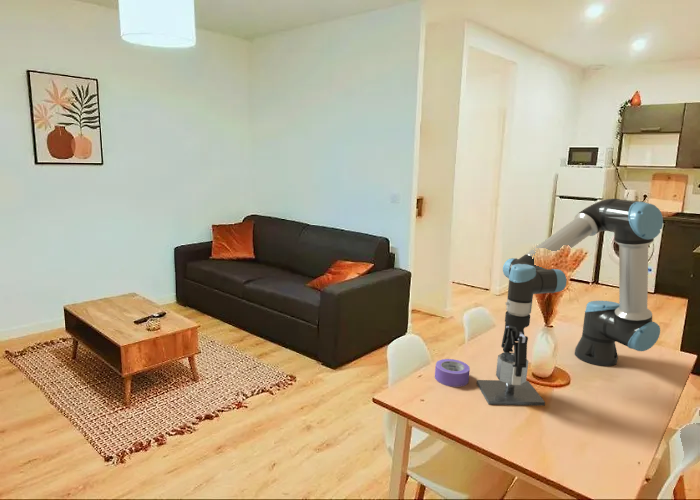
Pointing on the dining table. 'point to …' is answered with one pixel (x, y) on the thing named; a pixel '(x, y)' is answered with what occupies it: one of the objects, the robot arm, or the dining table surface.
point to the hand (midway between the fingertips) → (510, 377)
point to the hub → (508, 368)
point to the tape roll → (452, 372)
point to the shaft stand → (509, 393)
